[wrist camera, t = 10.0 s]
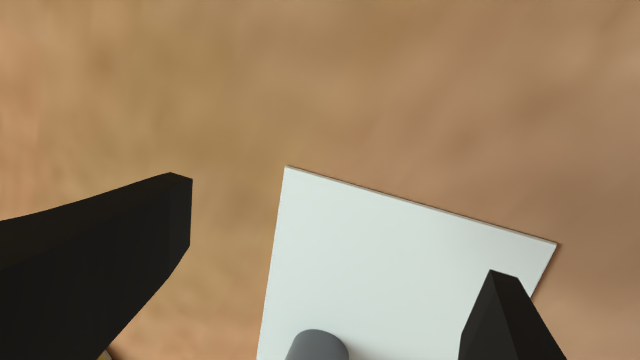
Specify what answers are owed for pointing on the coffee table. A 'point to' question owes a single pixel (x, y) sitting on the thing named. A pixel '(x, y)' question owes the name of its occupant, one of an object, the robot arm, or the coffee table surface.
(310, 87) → the coffee table surface
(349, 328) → the paper
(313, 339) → the grey teal-capped tube
